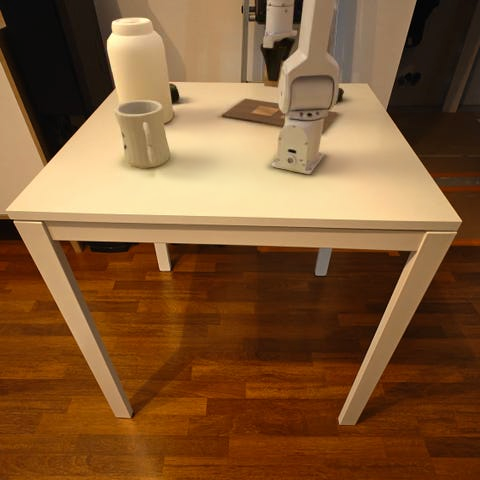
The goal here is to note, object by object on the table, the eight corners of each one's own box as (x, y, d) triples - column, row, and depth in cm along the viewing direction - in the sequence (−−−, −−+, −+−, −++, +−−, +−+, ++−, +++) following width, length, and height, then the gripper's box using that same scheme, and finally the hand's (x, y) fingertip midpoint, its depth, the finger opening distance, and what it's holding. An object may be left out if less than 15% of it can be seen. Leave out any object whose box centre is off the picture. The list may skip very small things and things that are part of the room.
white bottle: (136, 132, 84) (114, 27, 70) (115, 117, 91) (91, 18, 77) (183, 120, 89) (171, 20, 75) (159, 106, 96) (145, 13, 82)
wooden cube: (282, 88, 84) (283, 65, 81) (264, 86, 85) (264, 63, 82) (287, 82, 87) (289, 60, 84) (270, 80, 88) (271, 58, 85)
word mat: (321, 133, 83) (321, 131, 82) (221, 116, 91) (221, 114, 90) (337, 114, 91) (337, 111, 91) (245, 100, 100) (245, 98, 99)
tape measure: (155, 106, 97) (152, 90, 94) (153, 98, 102) (151, 83, 99) (180, 104, 98) (178, 88, 95) (177, 96, 103) (176, 81, 100)
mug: (123, 153, 76) (110, 102, 69) (165, 147, 78) (158, 96, 71) (132, 180, 68) (119, 125, 60) (179, 172, 70) (172, 118, 63)
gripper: (288, 10, 70) (283, 88, 79) (307, 1, 79) (300, 71, 89) (254, 8, 72) (253, 85, 81) (277, -1, 81) (273, 68, 91)
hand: (276, 77), depth 85 cm, fingers closed on wooden cube, 4 cm apart
